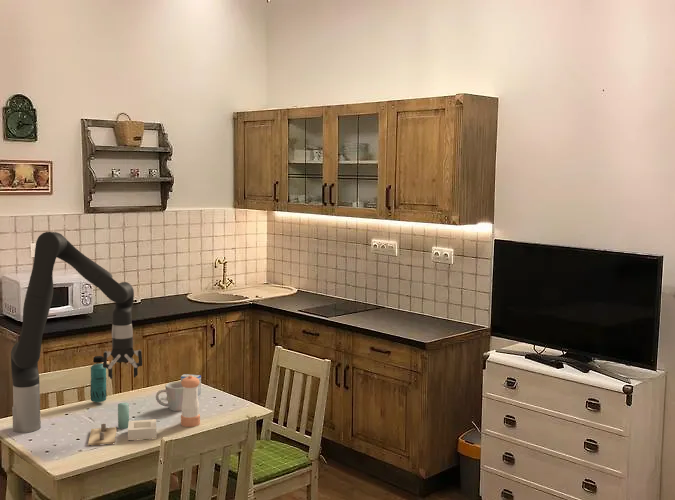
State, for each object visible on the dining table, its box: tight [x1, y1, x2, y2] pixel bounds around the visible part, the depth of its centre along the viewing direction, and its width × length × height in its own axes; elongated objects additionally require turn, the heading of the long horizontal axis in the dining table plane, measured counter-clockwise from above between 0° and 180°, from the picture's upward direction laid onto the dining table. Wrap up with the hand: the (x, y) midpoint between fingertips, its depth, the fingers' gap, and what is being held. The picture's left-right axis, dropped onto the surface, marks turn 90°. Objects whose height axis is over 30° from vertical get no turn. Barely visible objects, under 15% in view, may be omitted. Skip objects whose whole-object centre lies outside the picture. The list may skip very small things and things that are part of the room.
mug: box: [155, 380, 183, 412], centre depth 305 cm, size 10×15×10 cm
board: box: [87, 423, 118, 447], centre depth 272 cm, size 9×15×4 cm, turn 14°
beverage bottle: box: [89, 355, 108, 403], centre depth 310 cm, size 6×7×20 cm
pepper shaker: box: [180, 374, 201, 428], centre depth 288 cm, size 7×7×19 cm
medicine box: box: [180, 373, 202, 397], centre depth 325 cm, size 8×4×9 cm, turn 81°
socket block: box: [127, 418, 157, 441], centre depth 276 cm, size 10×10×4 cm
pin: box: [117, 402, 130, 430], centre depth 283 cm, size 4×4×9 cm
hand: (123, 377), depth 282 cm, fingers open, 8 cm apart
